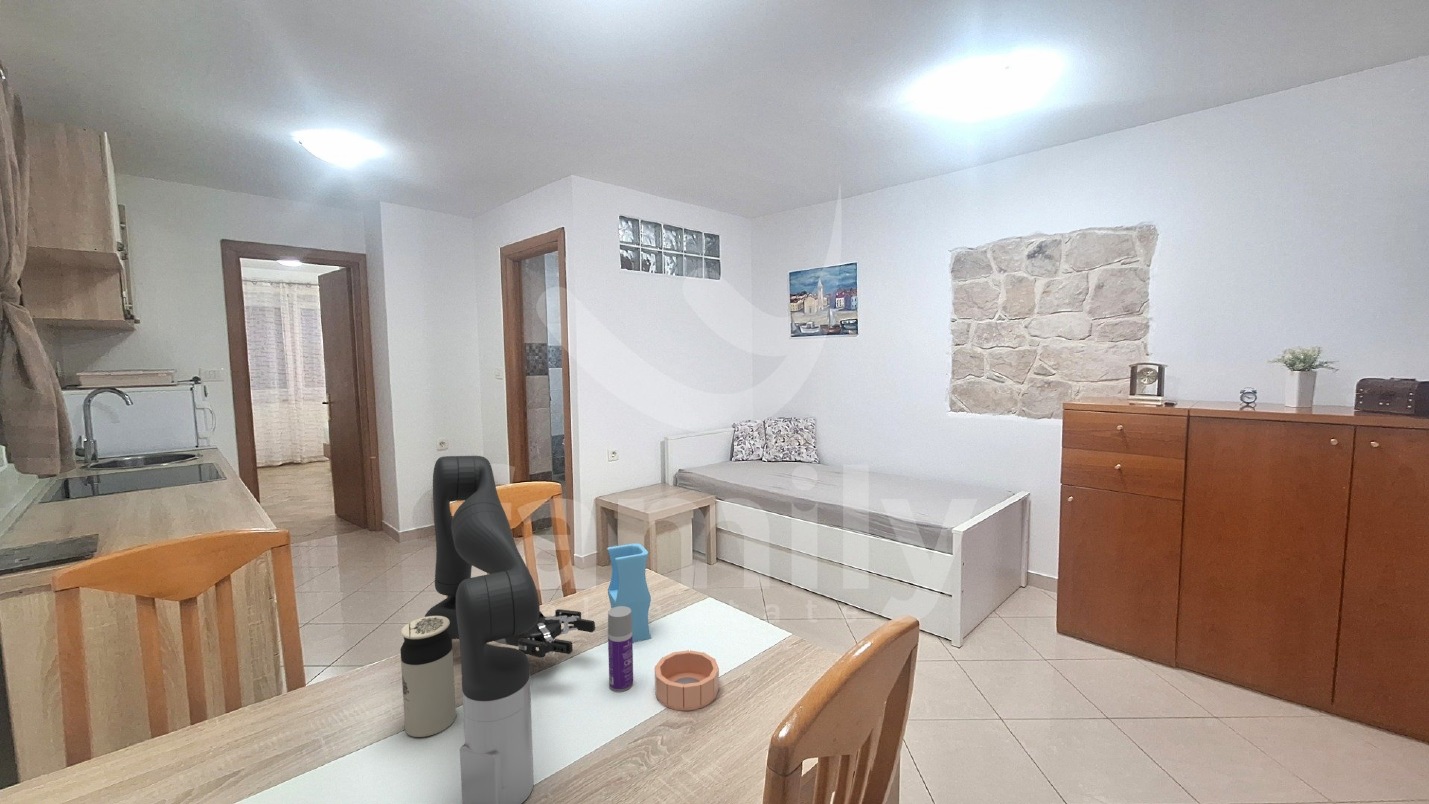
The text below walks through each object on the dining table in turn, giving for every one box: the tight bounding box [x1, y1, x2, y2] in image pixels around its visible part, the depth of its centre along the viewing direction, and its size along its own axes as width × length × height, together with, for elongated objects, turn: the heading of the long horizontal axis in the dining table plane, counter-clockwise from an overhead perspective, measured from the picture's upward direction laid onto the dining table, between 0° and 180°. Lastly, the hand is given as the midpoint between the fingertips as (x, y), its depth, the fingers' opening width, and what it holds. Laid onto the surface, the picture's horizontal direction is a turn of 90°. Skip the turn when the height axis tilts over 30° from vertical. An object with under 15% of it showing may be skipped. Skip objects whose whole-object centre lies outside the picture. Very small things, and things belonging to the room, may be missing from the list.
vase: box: [607, 542, 652, 643], centre depth 126 cm, size 8×8×20 cm
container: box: [607, 606, 634, 693], centre depth 107 cm, size 5×5×15 cm
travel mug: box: [399, 616, 457, 738], centre depth 96 cm, size 8×8×18 cm
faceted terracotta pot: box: [654, 649, 720, 712], centre depth 106 cm, size 12×12×5 cm
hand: (583, 637), depth 109 cm, fingers open, 8 cm apart
